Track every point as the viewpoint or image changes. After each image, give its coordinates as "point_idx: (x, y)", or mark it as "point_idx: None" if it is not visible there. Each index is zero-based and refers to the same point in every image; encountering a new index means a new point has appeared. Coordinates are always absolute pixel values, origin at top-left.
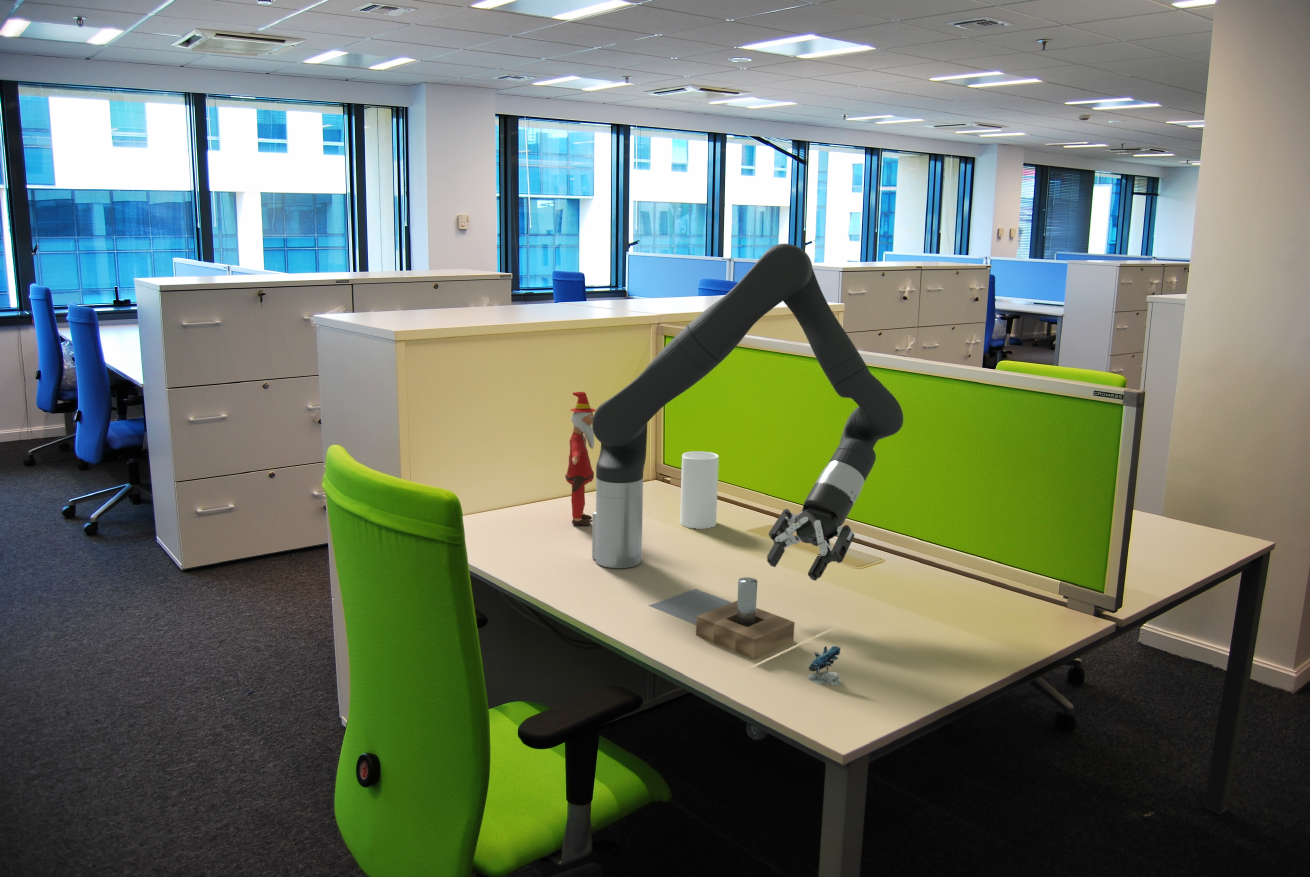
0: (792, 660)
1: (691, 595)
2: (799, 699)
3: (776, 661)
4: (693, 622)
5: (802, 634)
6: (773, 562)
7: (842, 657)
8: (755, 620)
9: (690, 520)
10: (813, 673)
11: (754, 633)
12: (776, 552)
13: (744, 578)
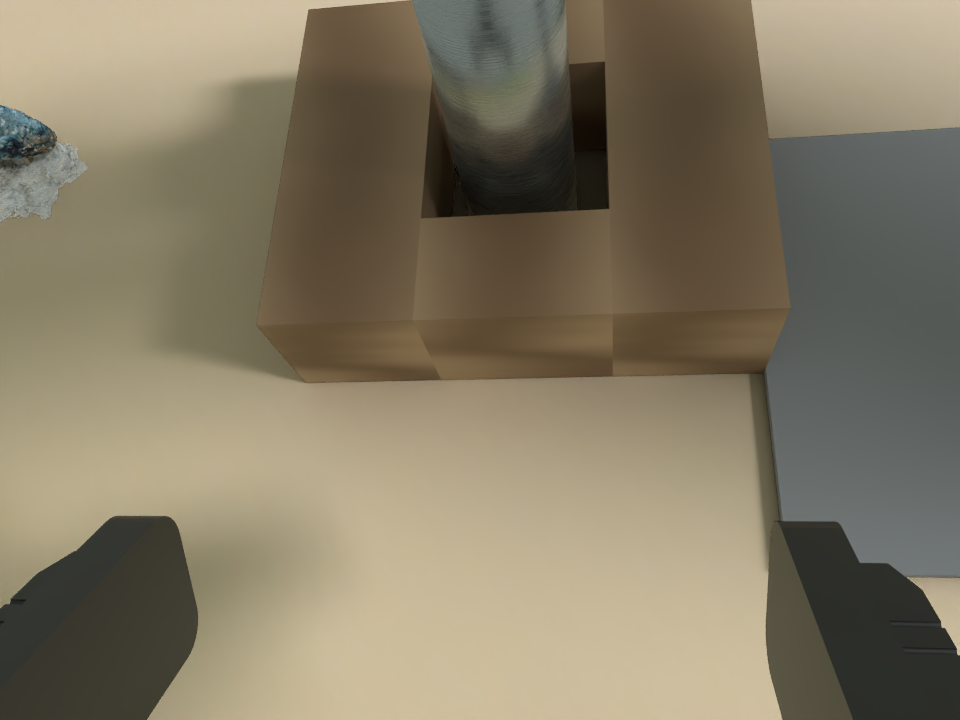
0: (207, 224)
1: None
2: (39, 20)
3: (262, 165)
4: (880, 142)
5: (324, 518)
6: (773, 599)
7: (13, 433)
8: (461, 173)
9: None
10: (45, 156)
11: (352, 53)
12: (813, 651)
13: None
